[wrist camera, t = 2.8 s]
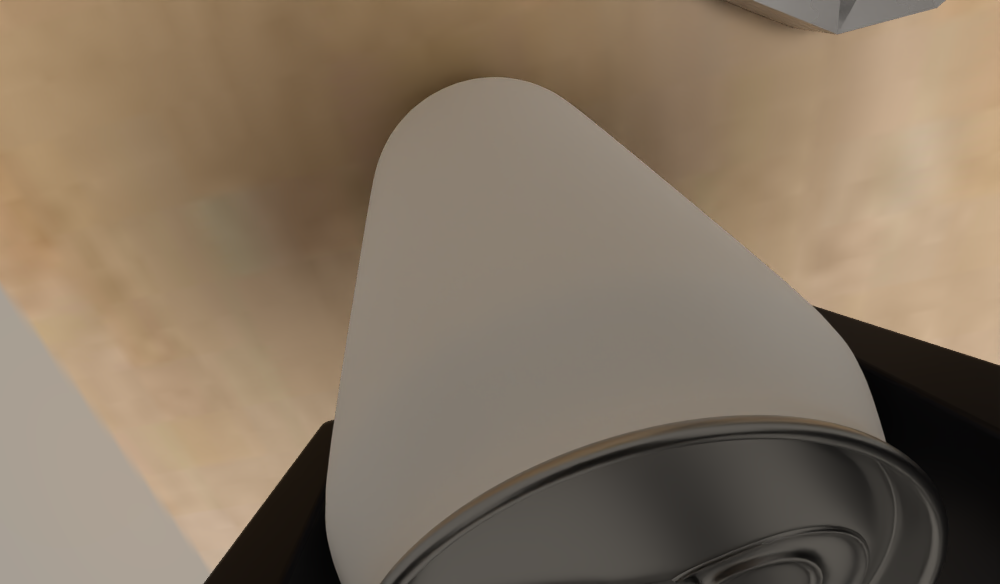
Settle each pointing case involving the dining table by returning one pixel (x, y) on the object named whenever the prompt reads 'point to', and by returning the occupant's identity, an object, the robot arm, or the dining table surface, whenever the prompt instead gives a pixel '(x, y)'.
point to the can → (593, 380)
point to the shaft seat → (835, 12)
